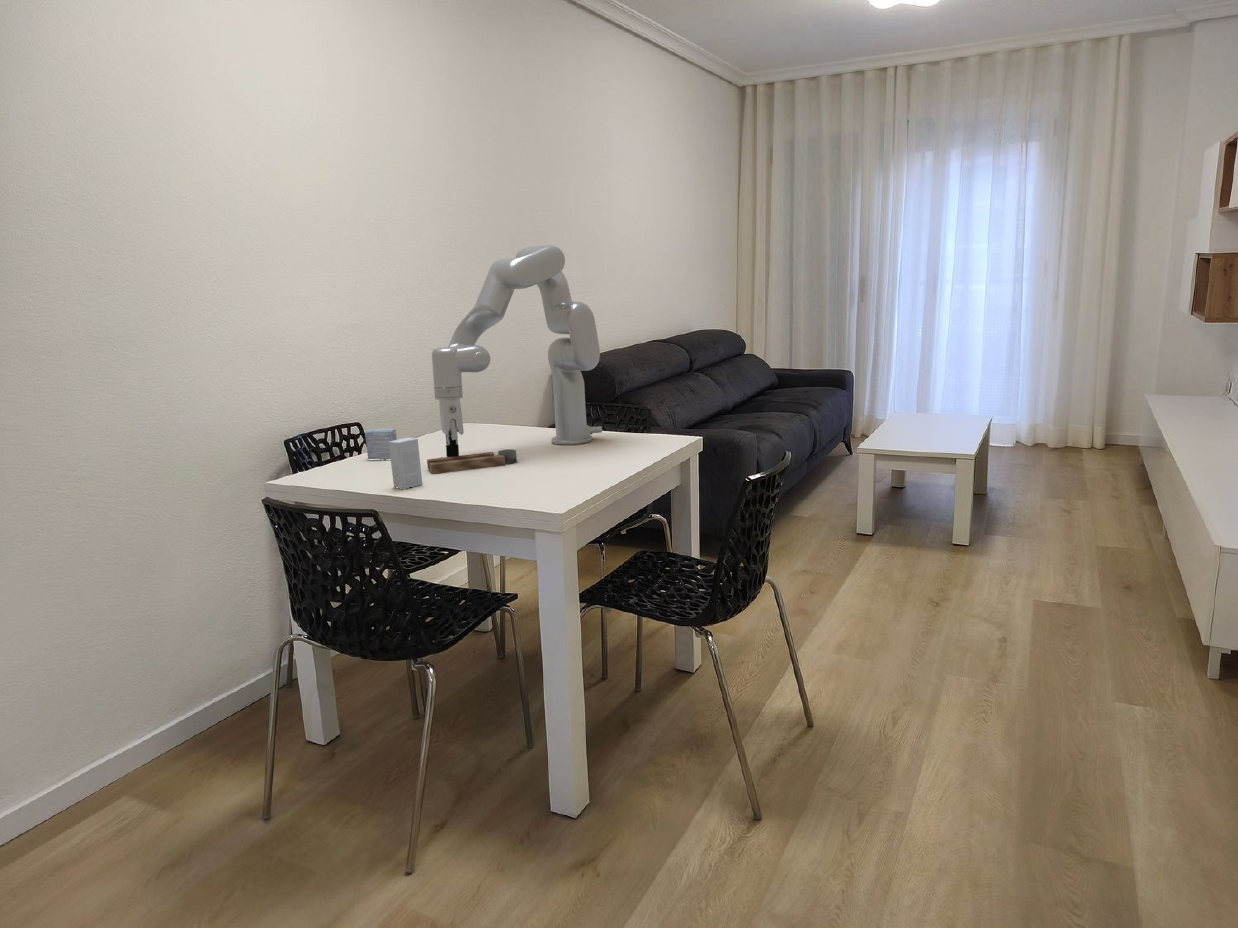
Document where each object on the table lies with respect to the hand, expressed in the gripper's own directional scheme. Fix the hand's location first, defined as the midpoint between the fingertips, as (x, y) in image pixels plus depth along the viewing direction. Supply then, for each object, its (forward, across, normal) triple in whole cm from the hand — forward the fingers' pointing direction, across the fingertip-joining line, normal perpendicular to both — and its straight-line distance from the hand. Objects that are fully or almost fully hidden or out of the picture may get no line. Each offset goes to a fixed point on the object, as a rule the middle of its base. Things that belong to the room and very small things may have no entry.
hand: (453, 458), depth 244 cm
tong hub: (+2, -5, -5) cm, 7 cm away
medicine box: (+2, +21, +17) cm, 27 cm away
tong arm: (+1, -3, -2) cm, 4 cm away
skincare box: (+3, -20, +14) cm, 25 cm away
